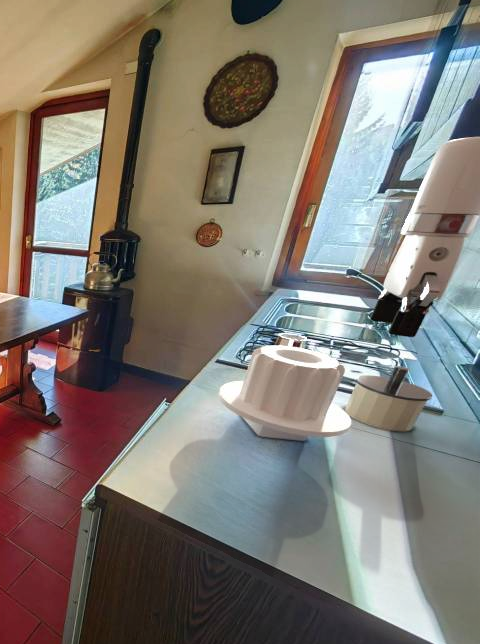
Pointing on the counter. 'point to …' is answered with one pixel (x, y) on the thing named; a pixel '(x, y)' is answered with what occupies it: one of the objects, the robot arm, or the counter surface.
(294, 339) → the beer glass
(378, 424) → the faceted cream dish
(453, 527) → the counter surface
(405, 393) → the lid
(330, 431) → the ribbed cylinder on disc
